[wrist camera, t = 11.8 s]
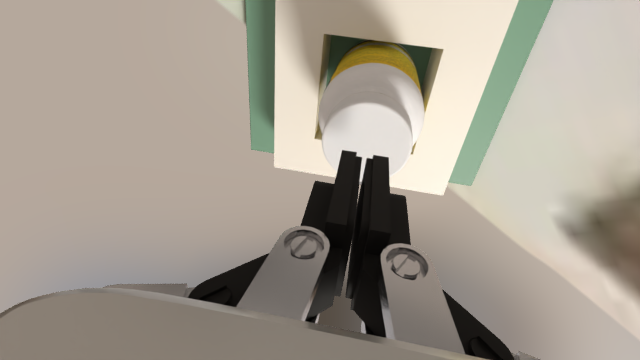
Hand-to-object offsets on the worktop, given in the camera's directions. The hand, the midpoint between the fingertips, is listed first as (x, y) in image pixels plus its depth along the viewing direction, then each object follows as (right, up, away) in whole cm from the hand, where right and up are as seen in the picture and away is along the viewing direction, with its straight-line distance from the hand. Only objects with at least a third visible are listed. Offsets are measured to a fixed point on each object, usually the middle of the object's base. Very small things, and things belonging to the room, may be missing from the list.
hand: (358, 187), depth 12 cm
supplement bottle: (+2, +7, +10) cm, 13 cm away
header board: (+2, +7, +11) cm, 13 cm away
